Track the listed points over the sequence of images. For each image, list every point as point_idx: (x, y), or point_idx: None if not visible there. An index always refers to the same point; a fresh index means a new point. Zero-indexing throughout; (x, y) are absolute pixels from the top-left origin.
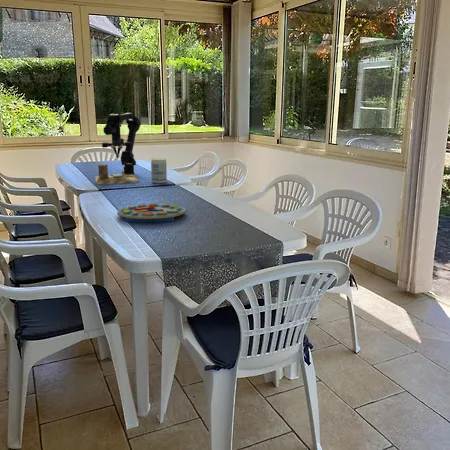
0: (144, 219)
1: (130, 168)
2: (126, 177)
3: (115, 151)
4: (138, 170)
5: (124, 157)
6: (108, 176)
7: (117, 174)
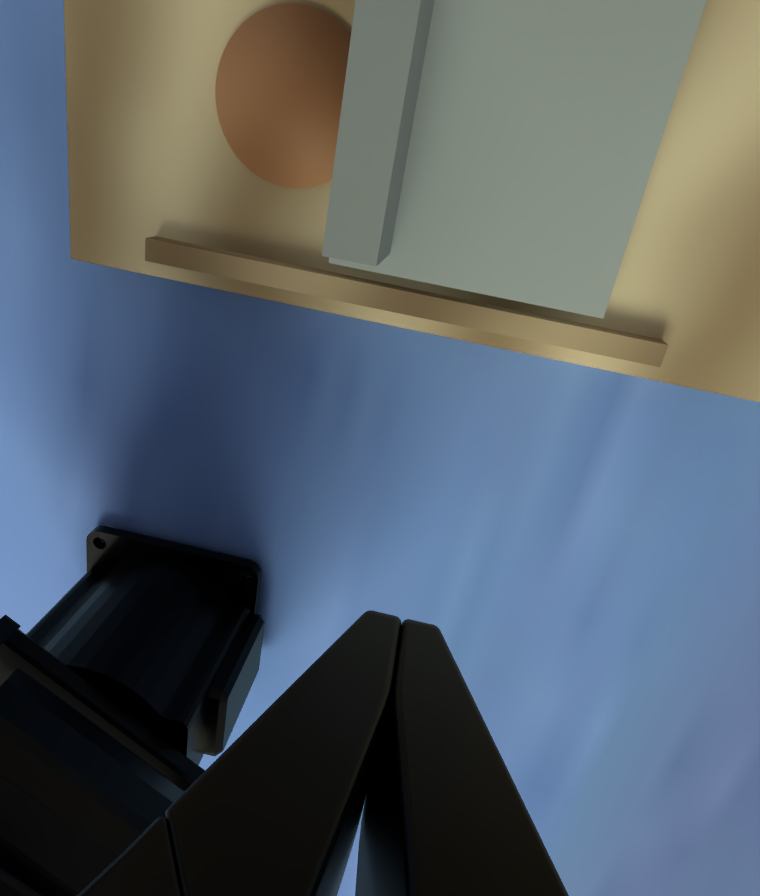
0: None
1: (100, 616)
2: None
3: None
4: None
5: (62, 892)
6: (747, 257)
7: (518, 206)
